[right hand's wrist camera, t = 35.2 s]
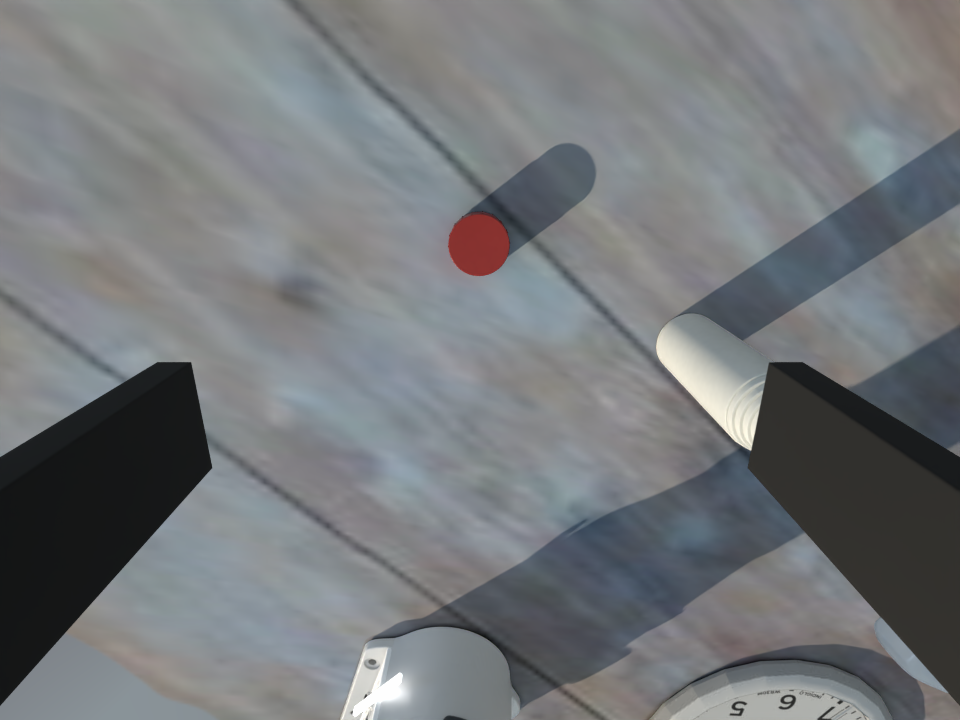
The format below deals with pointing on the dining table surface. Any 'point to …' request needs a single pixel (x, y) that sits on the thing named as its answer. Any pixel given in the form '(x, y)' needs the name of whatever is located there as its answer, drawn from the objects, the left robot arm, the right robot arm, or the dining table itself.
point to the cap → (479, 243)
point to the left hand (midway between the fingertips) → (939, 515)
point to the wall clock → (776, 695)
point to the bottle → (716, 372)
